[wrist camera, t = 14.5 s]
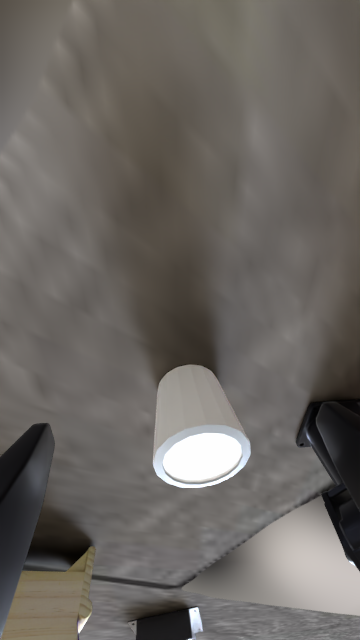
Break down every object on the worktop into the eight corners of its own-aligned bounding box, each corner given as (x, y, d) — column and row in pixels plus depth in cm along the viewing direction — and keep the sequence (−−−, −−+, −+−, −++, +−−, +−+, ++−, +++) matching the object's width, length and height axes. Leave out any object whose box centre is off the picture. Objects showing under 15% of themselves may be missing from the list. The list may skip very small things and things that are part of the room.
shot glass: (239, 385, 25) (270, 454, 18) (186, 425, 26) (199, 499, 20) (190, 344, 22) (208, 409, 16) (134, 392, 23) (131, 467, 17)
